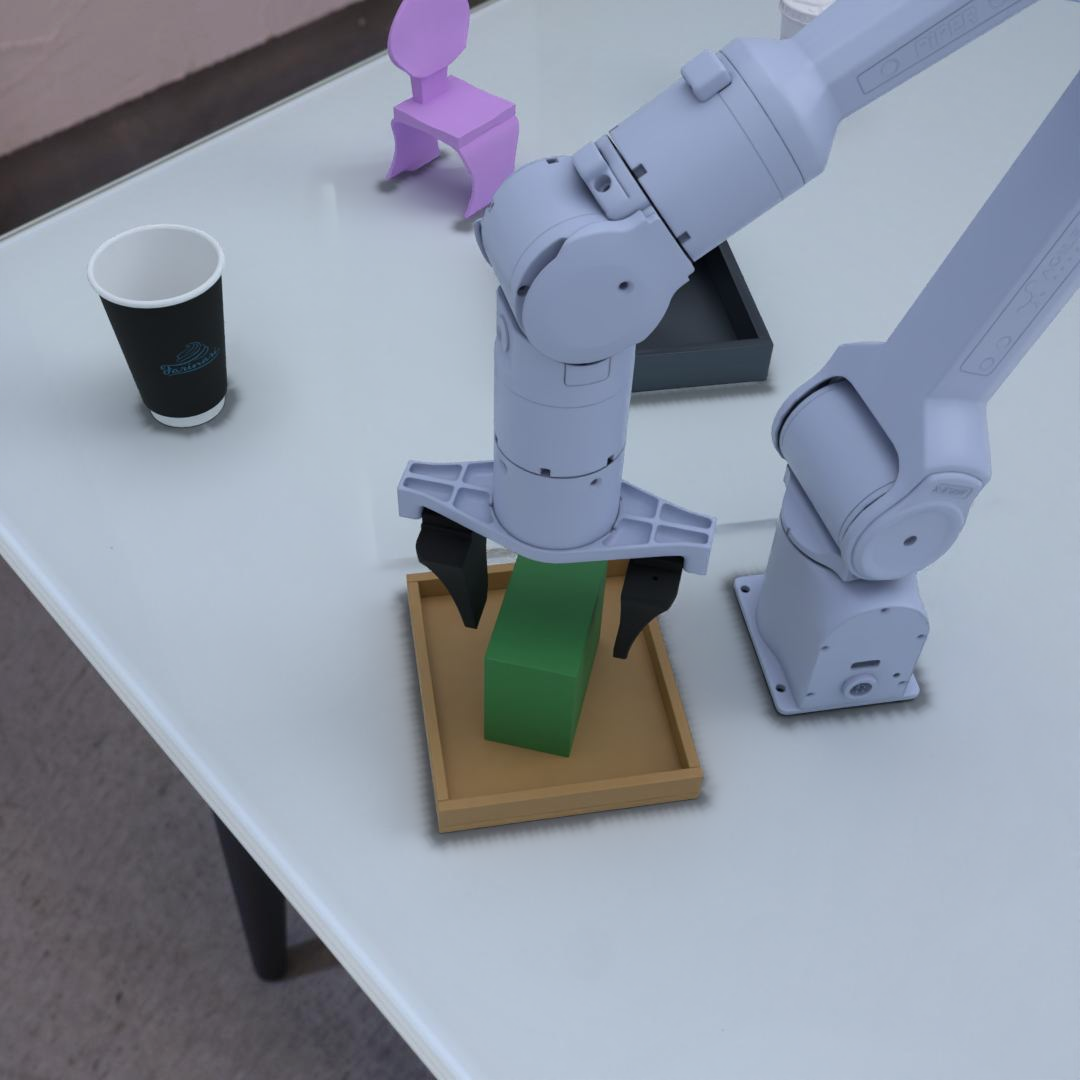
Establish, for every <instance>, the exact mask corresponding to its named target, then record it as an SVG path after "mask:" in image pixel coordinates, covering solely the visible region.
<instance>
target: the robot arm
mask: <svg viewBox="0 0 1080 1080" xmlns="http://www.w3.org/2000/svg"><path fill="white" fill-rule="evenodd" d="M1040 1H1041V0H836V1H835V2H834V3H833V4H831V5H830V6H829V7H828V8H827V9H825V10H824V11H823V12H822V13H821V14H819V15H818V16H817V17H816V18H815V19H813V20H812V21H811V22H810V23H809V24H807V25H806V26H805V27H804V28H803V29H801V30H800V31H799V32H798V33H797V34H795V35H794V36H793V37H792V38H790V39H783V40H780V39H777V38H767V37H766V38H765V37H755V36H737V37H735V38H734V39H732V40H731V41H730V42H728V43H727V44H725V45H724V46H723V47H721V48H720V49H719V50H717V51H716V52H714V51H713V49H710V48H706V49H704V50H703V51H702V52H700V53H699V54H697V55H696V56H695V57H694V58H692V59H691V60H689V61H688V62H687V63H685V64H684V65H683V66H682V67H680V75H681V78H679V79H678V80H676V81H675V82H674V83H672V84H671V85H670V86H668V87H667V88H665V89H664V90H663V91H662V92H660V93H659V94H658V95H656V96H655V97H653V98H652V99H651V100H649V101H648V102H646V103H645V104H644V105H643V106H641V107H640V108H639V109H637V110H635V111H634V112H633V113H631V114H630V115H629V116H627V117H626V118H625V119H623V120H622V121H621V122H619V123H618V124H616V125H615V126H614V127H613V128H611V129H610V130H608V134H607V133H605V134H603V135H602V136H600V137H599V138H598V139H597V140H595V141H590V142H588V143H587V144H585V145H584V146H583V147H581V148H580V149H578V150H577V151H576V152H574V153H573V154H572V155H556V156H555V155H554V156H548V157H542V158H538V159H535V160H531V161H529V162H527V163H525V164H524V165H522V166H520V167H518V168H517V169H516V170H514V172H513V173H512V174H511V175H509V176H508V177H507V178H506V179H505V181H504V182H503V183H502V184H501V185H500V187H499V188H498V189H497V191H496V192H495V194H494V195H493V197H492V198H491V199H492V202H491V203H490V204H489V206H486V207H485V210H484V214H483V217H480V218H477V219H476V220H475V221H474V222H473V232H474V238H475V241H476V244H477V246H478V248H479V250H480V253H481V255H482V256H483V258H484V259H485V261H486V262H487V264H488V265H489V266H490V267H491V268H492V270H493V272H494V274H495V276H496V278H497V280H498V283H499V285H498V287H497V289H496V311H495V312H496V316H495V317H496V318H495V319H496V322H495V323H496V324H495V325H496V326H495V327H496V328H495V329H496V330H495V332H496V334H495V339H494V347H493V348H494V349H493V459H488V460H487V459H485V460H472V461H471V460H470V461H455V462H430V461H428V462H427V461H421V460H414V459H409V460H408V461H407V463H406V466H405V469H404V470H403V473H402V475H401V477H400V480H399V483H398V484H397V486H396V494H397V508H398V509H397V510H398V517H401V518H405V519H410V520H420V519H421V523H420V531H419V533H418V535H417V538H416V541H415V553H416V557H417V560H418V562H419V563H420V564H421V565H423V566H424V567H426V568H427V569H428V570H429V571H430V572H433V573H434V574H435V575H436V576H437V577H438V578H439V579H440V580H441V582H442V583H443V584H444V585H445V587H446V588H447V590H448V591H449V593H450V595H451V597H452V598H453V600H454V602H455V604H456V606H457V608H458V611H459V613H460V615H461V618H462V621H463V623H464V626H465V627H468V628H473V629H477V627H478V624H479V621H480V618H481V615H482V613H483V610H484V607H485V604H486V601H487V593H488V570H487V566H488V556H487V542H488V540H490V541H492V542H493V543H496V544H497V545H500V546H502V547H504V548H505V549H507V550H510V551H511V552H513V553H515V554H517V555H518V554H519V555H521V556H524V557H526V558H528V559H532V560H535V561H539V562H544V563H576V562H590V561H604V560H617V559H630V561H629V564H628V568H627V572H626V576H625V580H624V584H623V588H622V592H621V599H620V600H621V613H620V624H619V628H618V632H617V636H616V640H615V644H614V648H613V657H615V658H620V659H624V660H625V659H627V657H628V652H629V650H630V648H631V646H632V644H633V642H634V641H635V639H636V638H637V636H638V635H639V634H640V632H641V631H642V630H643V629H644V627H645V626H646V625H647V624H648V623H649V622H650V621H652V620H653V619H654V618H655V617H657V618H658V616H660V615H661V614H663V613H665V612H668V611H669V610H670V608H671V607H672V606H673V604H674V602H675V600H676V599H677V596H678V594H679V589H680V584H681V579H682V574H683V571H684V572H686V573H688V574H694V575H699V576H704V577H705V576H707V573H708V568H709V563H710V557H711V552H712V548H713V542H714V536H715V531H716V526H717V523H718V522H717V521H718V518H717V517H716V516H712V515H707V514H702V513H700V512H696V511H693V510H689V509H686V508H685V507H682V506H679V505H678V504H675V503H674V502H671V501H669V500H667V499H664V498H663V497H661V496H658V495H656V494H654V493H652V492H649V491H648V490H646V489H644V488H641V487H639V486H637V485H635V484H633V483H631V482H629V481H626V480H624V479H623V473H624V463H625V452H626V444H627V437H628V436H627V434H628V425H629V417H630V408H631V407H630V406H631V398H632V393H631V390H632V380H633V371H634V363H635V348H636V344H637V343H640V342H642V341H643V340H645V339H646V338H647V337H648V336H649V335H650V334H651V333H652V331H653V330H654V329H655V328H656V327H657V325H658V324H659V322H660V321H661V319H662V318H663V316H664V314H665V312H666V310H667V308H668V306H669V303H670V301H671V298H672V296H673V295H674V293H675V292H676V291H677V290H678V289H679V288H680V287H681V286H682V285H684V284H685V283H687V282H688V281H689V278H688V276H689V275H690V274H691V273H693V272H694V267H693V265H692V262H691V260H690V258H689V256H690V257H691V258H692V260H693V261H694V262H695V261H696V260H698V259H699V258H701V257H702V256H703V255H705V254H706V253H708V252H709V251H711V250H712V249H714V248H715V247H716V246H718V245H719V244H721V243H722V242H724V241H725V240H727V241H728V239H729V238H731V237H732V236H734V235H735V234H737V233H738V232H739V231H741V230H743V229H744V228H745V227H747V226H748V225H750V224H751V223H752V222H754V221H755V220H757V219H759V218H760V217H761V216H763V215H764V214H765V213H767V212H769V211H770V210H772V209H773V208H774V207H776V206H777V205H778V204H780V203H782V202H783V201H784V200H786V199H787V198H789V197H790V196H791V195H793V194H795V193H796V192H797V191H799V190H800V189H801V188H803V187H804V186H806V185H807V184H808V183H810V182H811V181H812V180H814V179H815V178H817V177H819V176H820V175H821V174H823V173H824V172H825V169H826V167H827V165H828V161H829V158H830V155H831V151H832V147H833V143H834V139H835V136H836V133H837V130H838V127H839V125H840V123H841V122H842V121H843V120H844V119H847V118H848V117H849V116H851V115H852V114H855V113H856V112H858V111H859V110H861V109H863V108H865V107H866V106H868V105H870V104H871V103H873V102H874V101H876V100H878V99H880V98H881V97H882V96H885V95H886V94H887V93H889V92H891V91H893V90H894V89H896V88H897V87H899V86H901V85H902V84H904V83H905V82H907V81H909V80H910V79H912V78H914V77H916V76H917V75H919V74H920V73H922V72H924V71H925V70H927V69H929V68H931V67H932V66H934V65H935V64H938V63H939V62H940V61H942V60H945V59H946V58H947V57H949V56H950V55H952V54H953V53H956V52H957V51H958V50H960V49H962V48H964V47H965V46H966V45H968V44H970V43H972V42H973V41H975V40H977V39H979V38H980V37H982V36H984V35H985V34H987V33H988V32H990V31H992V30H993V29H995V28H996V27H998V26H1000V25H1002V24H1003V23H1005V22H1006V21H1008V20H1010V19H1012V18H1013V17H1015V16H1017V15H1018V14H1019V13H1022V12H1023V11H1024V10H1025V11H1026V9H1028V8H1029V7H1031V6H1033V5H1035V4H1036V3H1039V2H1040ZM1065 1H1068V2H1073V3H1079V4H1080V0H1065ZM677 238H678V239H677ZM679 241H680V242H679ZM681 244H682V245H681ZM682 246H683V247H684V248H683V247H682ZM684 249H685V250H686V251H685V250H684ZM686 252H687V253H688V254H689V256H688V255H687V253H686ZM1079 289H1080V69H1079V70H1078V72H1077V73H1076V74H1075V75H1074V77H1073V79H1072V80H1071V81H1070V82H1069V84H1068V86H1067V87H1066V88H1065V90H1064V91H1063V93H1062V94H1061V96H1060V97H1059V98H1058V99H1057V101H1056V102H1055V103H1054V105H1053V107H1052V108H1051V109H1050V110H1049V112H1048V113H1047V115H1046V116H1045V118H1044V119H1043V120H1042V122H1041V124H1040V125H1039V126H1038V128H1037V129H1036V130H1035V132H1034V133H1033V135H1032V136H1031V138H1030V139H1029V140H1028V142H1027V143H1026V144H1025V146H1024V147H1023V149H1022V150H1021V152H1020V153H1019V155H1018V156H1016V159H1015V160H1014V161H1013V163H1012V164H1011V165H1010V167H1009V168H1008V170H1006V173H1005V174H1004V176H1003V177H1002V178H1001V179H1000V181H999V182H998V184H997V185H996V187H995V188H994V189H993V191H992V192H991V193H990V196H989V197H988V198H987V199H986V200H985V202H984V204H983V205H982V206H981V208H980V209H979V210H978V211H977V214H976V215H975V216H974V218H973V219H972V220H971V222H970V223H969V224H968V226H967V227H966V229H965V230H964V231H963V233H962V234H961V235H960V237H959V239H958V240H957V241H956V243H955V244H954V245H953V247H952V248H951V249H950V251H949V253H948V254H947V255H946V257H945V258H944V260H943V261H942V262H941V264H940V265H939V266H938V268H937V270H936V271H935V272H934V274H933V275H932V277H931V278H930V279H929V280H928V282H927V284H926V285H925V286H924V287H923V289H922V290H921V292H920V293H919V295H918V296H917V298H916V299H915V300H914V302H913V303H912V304H911V306H910V307H909V308H908V310H907V312H906V313H905V315H904V316H903V317H902V318H901V320H900V322H898V324H897V326H896V327H895V328H894V330H893V331H892V333H891V334H890V335H889V337H888V338H887V339H886V341H875V340H873V341H872V340H871V341H869V340H868V341H867V340H866V341H855V342H854V341H853V342H847V343H842V344H840V345H839V346H837V348H836V349H835V351H834V352H833V354H832V355H831V356H830V358H829V359H828V361H827V362H826V363H825V365H824V366H823V367H822V368H821V369H820V370H819V371H818V372H817V373H816V374H814V375H813V376H812V377H811V378H810V379H808V380H807V381H805V382H804V383H803V384H801V385H800V386H799V387H797V388H796V389H795V390H794V391H793V392H792V393H790V395H789V396H788V397H786V399H785V400H784V401H783V403H782V404H781V405H780V407H779V408H778V410H777V412H776V413H775V416H774V418H773V421H772V424H771V430H770V436H771V443H772V445H773V446H774V449H775V450H776V452H777V453H778V455H779V456H780V458H781V459H782V460H784V461H786V463H787V464H786V467H785V471H784V475H783V480H782V481H783V483H784V486H785V491H784V493H783V494H784V495H783V499H782V503H781V507H780V509H779V514H778V519H777V523H776V526H775V531H774V535H773V539H772V544H771V548H770V550H769V551H770V552H769V554H768V555H769V556H768V559H767V564H766V568H765V572H764V573H761V574H760V573H759V574H749V575H741V576H737V577H736V578H735V579H734V580H733V584H732V586H733V589H734V592H735V595H736V599H737V601H738V604H739V608H740V610H741V613H742V615H743V618H744V622H745V624H746V628H747V630H748V633H749V635H750V638H751V641H752V643H753V647H754V649H755V652H756V654H757V655H756V656H757V658H758V661H759V664H760V666H761V669H762V673H763V675H764V678H765V681H766V684H767V686H768V689H769V692H770V695H771V698H772V702H773V704H774V706H775V710H776V711H777V712H778V713H779V714H781V715H783V716H784V715H785V716H789V715H798V714H804V713H812V712H813V713H814V712H819V711H820V712H821V711H828V710H837V709H843V708H850V707H851V708H852V707H859V706H868V705H874V704H875V705H876V704H882V703H883V704H884V703H890V702H898V701H899V702H900V701H906V700H907V701H908V700H914V699H916V698H917V697H918V696H919V694H920V690H921V688H920V686H919V683H918V682H917V679H916V677H915V674H914V671H915V669H916V666H917V664H918V660H919V658H920V656H921V654H922V651H923V649H924V646H925V644H926V642H927V640H928V636H929V633H930V627H931V625H930V620H929V616H928V614H927V610H926V609H925V606H924V603H923V600H922V598H921V595H920V590H919V584H918V578H917V574H918V572H920V571H923V570H924V569H926V568H927V567H929V566H931V565H933V564H934V563H935V562H936V561H938V560H939V559H940V558H942V557H943V556H944V555H945V554H946V553H947V552H948V551H949V550H950V549H951V548H952V547H953V546H954V544H955V543H956V541H957V539H958V538H959V536H960V534H961V533H962V531H963V529H964V527H965V525H966V522H967V520H968V515H969V513H970V509H971V507H972V506H973V503H974V502H975V500H976V499H977V497H978V496H979V495H980V493H981V491H982V490H983V489H984V488H985V487H986V485H987V484H988V483H989V482H990V481H991V479H992V474H993V473H992V458H991V457H992V455H991V447H990V438H989V437H990V435H989V427H988V426H989V425H988V417H987V416H988V415H987V413H988V412H987V405H988V402H990V400H991V399H992V397H993V396H994V395H995V394H996V393H997V391H998V390H999V389H1000V388H1001V387H1002V385H1003V384H1004V382H1005V381H1006V380H1007V379H1008V377H1010V375H1011V374H1012V372H1013V371H1014V370H1015V368H1016V367H1018V365H1019V364H1020V363H1021V361H1022V360H1023V359H1024V357H1026V355H1027V354H1028V353H1029V351H1030V350H1031V349H1032V348H1033V346H1034V345H1035V343H1037V341H1038V340H1039V339H1040V338H1041V336H1042V335H1043V334H1044V332H1046V330H1047V328H1049V326H1050V325H1051V324H1052V323H1053V321H1054V320H1055V319H1056V317H1057V316H1058V315H1059V314H1060V313H1061V312H1062V310H1063V309H1064V307H1065V306H1066V305H1067V304H1068V302H1070V300H1071V299H1072V297H1073V296H1074V295H1075V294H1076V292H1078V290H1079ZM745 591H746V592H745ZM778 689H779V690H782V691H778Z"/></svg>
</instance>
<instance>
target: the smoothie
mask: <svg viewBox="0 0 1080 1080" xmlns="http://www.w3.org/2000/svg"><path fill="white" fill-rule="evenodd" d="M835 1H836V0H779V1H778V2H777V4H778V9H779V10H780V13H781V18H780V35H779V36H780V40H783V39H790V38H792V37H793V36H794V35H795V34H797V33H798V32H799V31H800V30H801V29H803V28H804V27H805V26H806V25H807V24H809V23H810V22H811V21H812V20H813V19H815V18H816V17H817V16H818V15H819V14H821V13H822V12H823V11H824V10H825V9H827V8H828V7H829V6H830V5H831V4H833V3H834V2H835Z"/></svg>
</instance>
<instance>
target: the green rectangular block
mask: <svg viewBox="0 0 1080 1080" xmlns="http://www.w3.org/2000/svg"><path fill="white" fill-rule="evenodd" d="M514 563H515V565H514V568H513V571H512V574H511V577H510V580H509V584H508V587H507V590H506V593H505V596H504V599H503V602H502V605H501V608H500V611H499V614H498V617H497V620H496V623H495V626H494V629H493V632H492V635H491V638H490V641H489V644H488V647H487V651H486V654H485V657H484V739H485V740H489V741H494V742H499V743H503V744H508V745H512V746H517V747H522V748H526V749H531V750H536V751H540V752H545V753H550V754H554V755H559V756H563V757H569V756H570V752H571V748H572V744H573V740H574V736H575V732H576V729H577V725H578V721H579V717H580V713H581V709H582V705H583V701H584V697H585V694H586V690H587V686H588V682H589V678H590V674H591V670H592V666H593V662H594V659H595V655H596V651H597V647H598V643H599V639H600V631H601V621H602V612H603V603H604V593H605V584H606V574H607V565H608V560H604V561H590V562H576V563H544V562H539V561H535V560H532V559H528V558H526V557H524V556H521V555H519V554H517V557H516V559H515V562H514Z"/></svg>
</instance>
